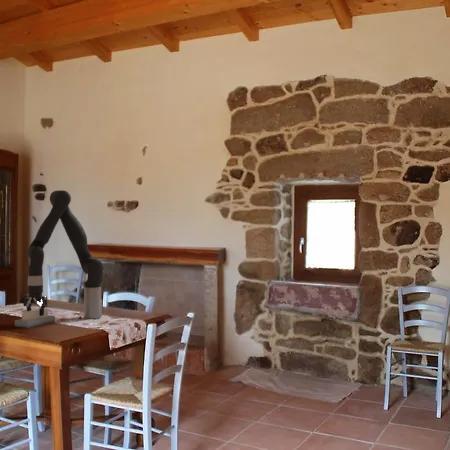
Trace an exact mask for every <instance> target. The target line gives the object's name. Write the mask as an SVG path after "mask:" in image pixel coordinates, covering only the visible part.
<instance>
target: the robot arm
mask: <svg viewBox="0 0 450 450" xmlns="http://www.w3.org/2000/svg"><path fill="white" fill-rule="evenodd" d="M71 197H72V196H71V194H70V193H69V192H68V191H67V190H63V189H62V190H54V191H52V192H51V194H50V195H49V202H50V205H51V206H52V207H51V209H50V211H49V213H48V215H47V216H46V217H45V219H44V220H43V222H42V223H41V224H40V226H39V229H38V230H37V233H36V235H35V237H34V239H33V240H32V242H31V243H30V245H29V247H28V249H27V257H28V258H29V265H28V270H27V272H28V273H27V275H28V277H27V294H24V295H23V307H25V308H26V311H31V310H32V305H33V304H34V305H36V306H38V309H39V315H40V316H43V315H44V308H45V309H46V308H47V307H48V296H47V295H43V293H44V278H43V270H44V269H43V266H44V265H43V264H44V258H45V252H44V247H45V246H46V245H47V244H48V243H49V241H50V239H51V237H52V234H53V233H54V230H55V228H56V226H57V225H58V222H59V220H60V223H61V224H62V227H63V229H64V230H65V233H66V235H67V237H68V238H67V239H68V240H69V242H70V244H71V245H72V248H73V249H74V251H75V253H76V255H77V259H78V261H79V264H80V267H81V269H82V271H83V273H85V274H87V279H86V281H84V283H83V292H84V293H83V298H84V299H83V318H84V319H88V320H89V319H90V320H91V319H94V320H95V319H100V318H101V317H102V316H103V299H102V283H103V277H104V276H103V274H104V265H103V262H102V261H101V260H100V259H98V258H94V257H93V256H92V254H91V252H90V249H89V248H88V237H87V234H86V231H85V229H84V227H83V225H82V224H81V222H80V221H79V220H78V218H77V217H76V215H74V214H73V212H72V210H71V209H70V204H71V201H72V198H71Z"/></svg>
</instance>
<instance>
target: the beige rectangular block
mask: <svg viewBox="0 0 450 450" xmlns="http://www.w3.org/2000/svg"><path fill="white" fill-rule="evenodd" d="M39 309H40V308H37V309H31V311H27V310H26V311H22V312H21V319H22V321H32V320H37V319H41V318H46V317H48V315H49V308H46V307H45V308H44V315H43V316H40V315H39Z"/></svg>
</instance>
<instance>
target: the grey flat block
mask: <svg viewBox="0 0 450 450" xmlns="http://www.w3.org/2000/svg"><path fill="white" fill-rule="evenodd" d="M55 316H56V315H50V314H48V317H46V318H41V319H37V320H32V321H22V318H20V319H15V320H14V327H19V328H27V329H28V328H29V329H30V328H33V327H37V326H40V325H45V324H51V323H54V322H55V319H56V317H55Z"/></svg>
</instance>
